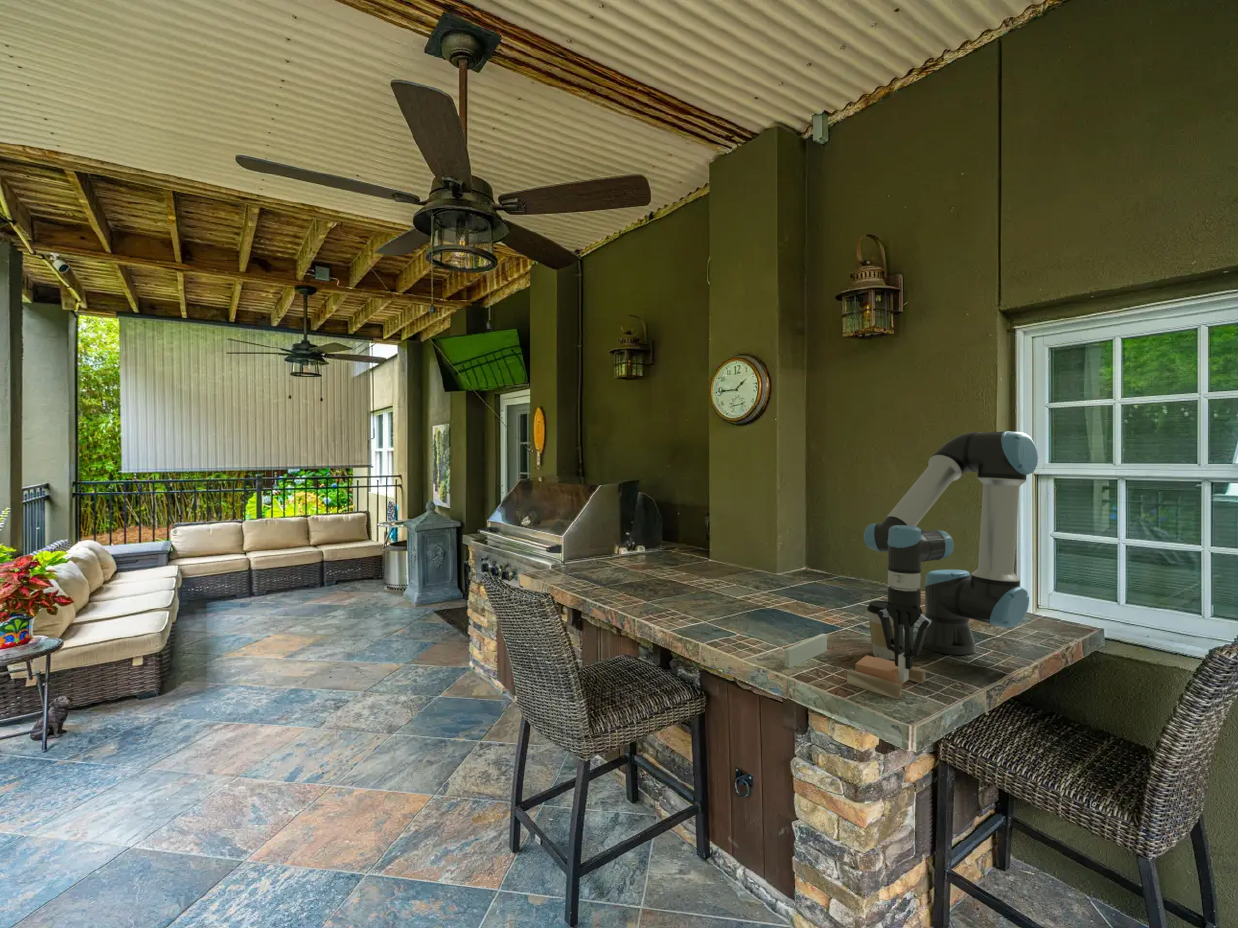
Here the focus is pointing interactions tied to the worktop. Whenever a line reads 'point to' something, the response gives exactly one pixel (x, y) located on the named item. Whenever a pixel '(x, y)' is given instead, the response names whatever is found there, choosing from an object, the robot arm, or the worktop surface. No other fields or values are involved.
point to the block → (878, 668)
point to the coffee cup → (879, 630)
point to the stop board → (805, 650)
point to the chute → (883, 682)
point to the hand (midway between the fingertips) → (903, 679)
